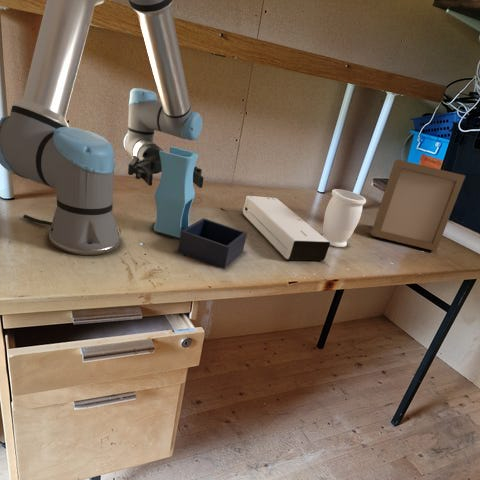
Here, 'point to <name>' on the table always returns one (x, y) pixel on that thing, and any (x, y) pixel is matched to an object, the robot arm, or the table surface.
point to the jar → (342, 216)
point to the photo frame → (417, 204)
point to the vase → (175, 191)
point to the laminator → (285, 229)
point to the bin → (212, 242)
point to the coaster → (168, 235)
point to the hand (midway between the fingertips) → (177, 181)
